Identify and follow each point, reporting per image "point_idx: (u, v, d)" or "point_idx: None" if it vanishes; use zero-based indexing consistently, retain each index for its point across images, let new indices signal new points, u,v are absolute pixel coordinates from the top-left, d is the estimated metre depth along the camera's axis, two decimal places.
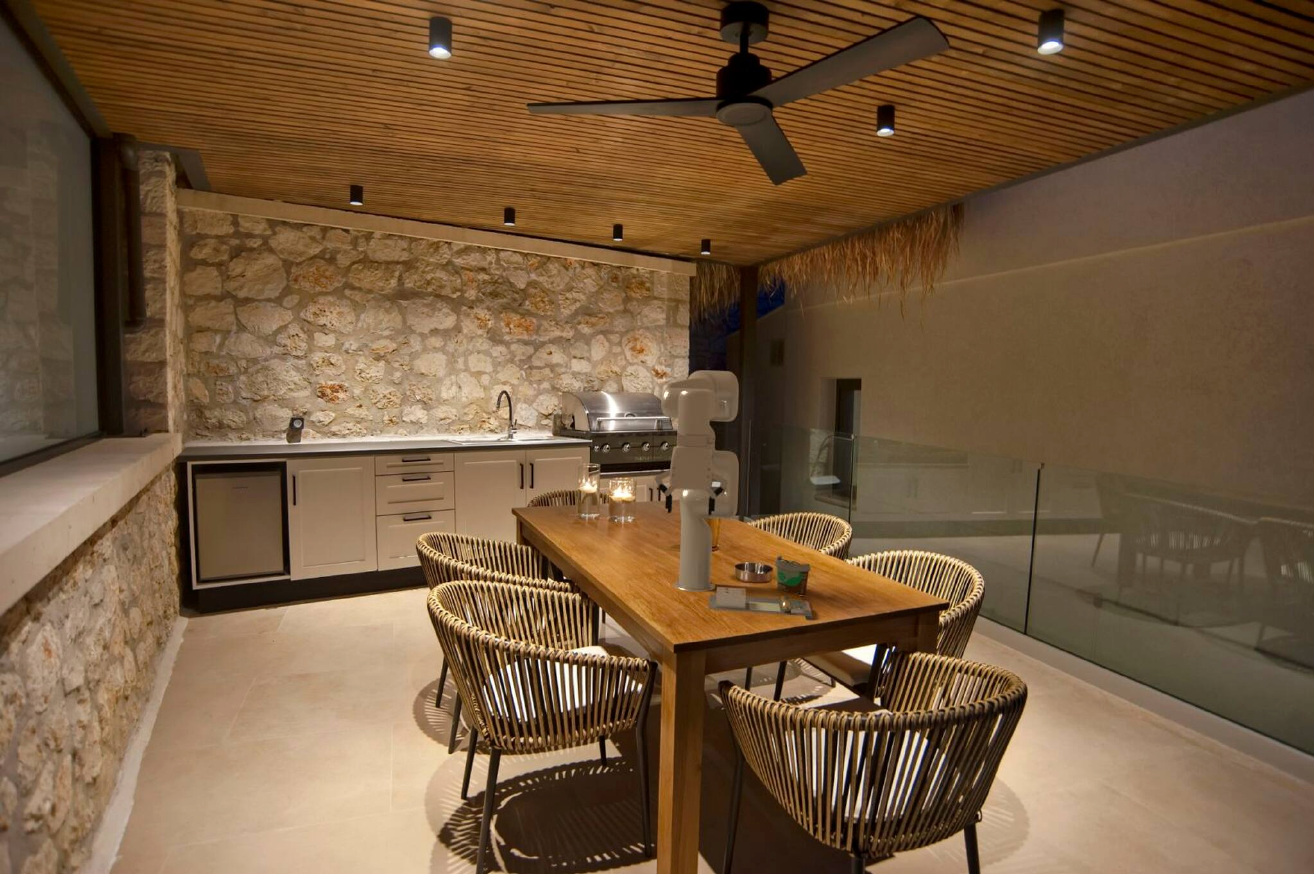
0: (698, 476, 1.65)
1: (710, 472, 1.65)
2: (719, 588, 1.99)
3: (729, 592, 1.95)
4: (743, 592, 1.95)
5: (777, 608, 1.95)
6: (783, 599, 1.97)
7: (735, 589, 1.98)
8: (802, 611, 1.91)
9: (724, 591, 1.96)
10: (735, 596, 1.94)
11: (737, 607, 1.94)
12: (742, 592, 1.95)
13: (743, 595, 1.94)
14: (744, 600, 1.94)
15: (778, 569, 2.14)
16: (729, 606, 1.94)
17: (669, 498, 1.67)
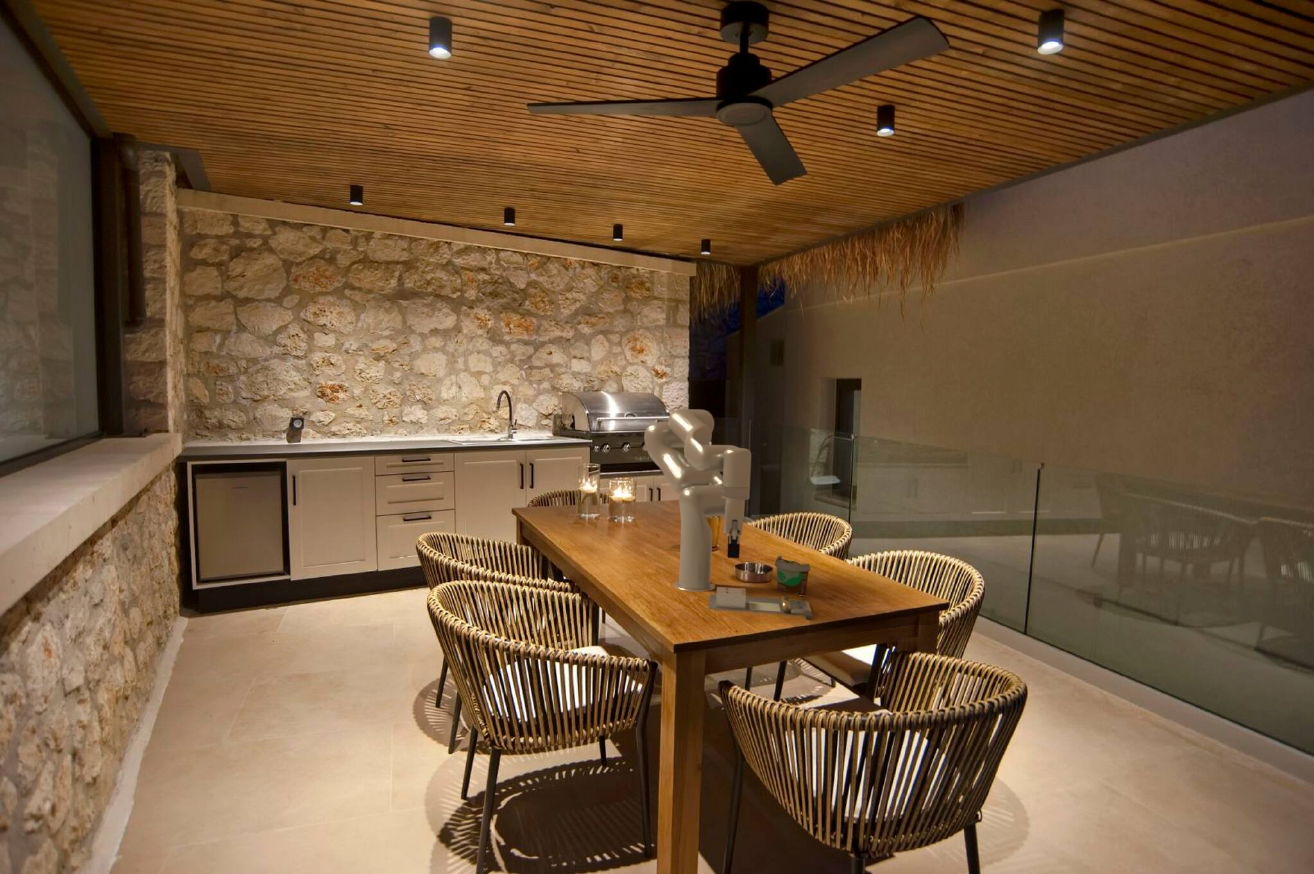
0: None
1: None
2: (719, 588, 1.99)
3: (729, 592, 1.95)
4: (743, 592, 1.95)
5: (777, 608, 1.95)
6: (783, 599, 1.97)
7: (735, 589, 1.98)
8: (802, 611, 1.91)
9: (724, 591, 1.96)
10: (735, 596, 1.94)
11: (737, 607, 1.94)
12: (742, 592, 1.95)
13: (743, 595, 1.94)
14: (744, 600, 1.94)
15: (778, 569, 2.14)
16: (729, 606, 1.94)
17: None
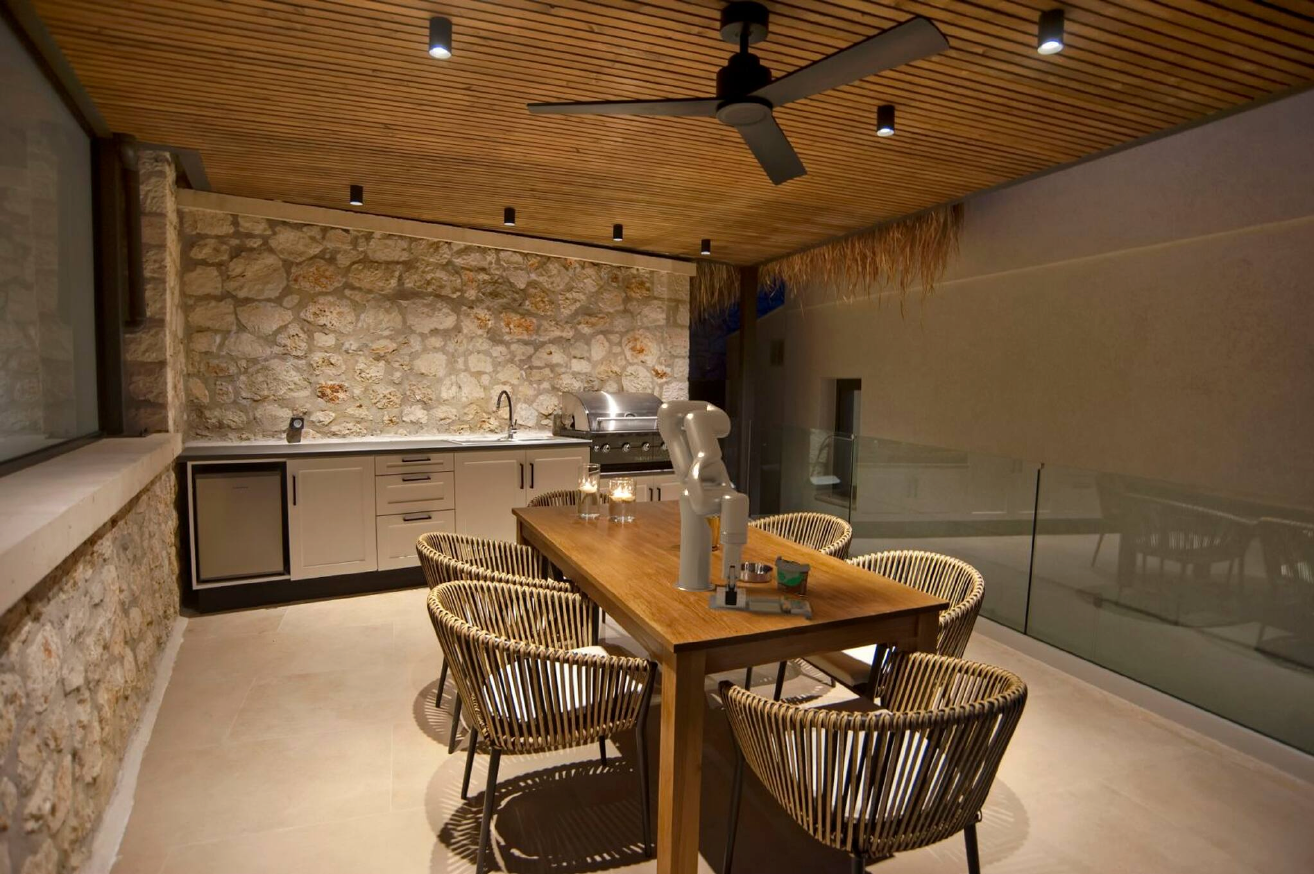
0: None
1: None
2: (719, 588, 1.99)
3: None
4: (743, 592, 1.95)
5: (777, 608, 1.95)
6: (783, 599, 1.97)
7: None
8: (802, 611, 1.91)
9: (724, 591, 1.96)
10: None
11: (737, 607, 1.94)
12: (742, 592, 1.95)
13: (743, 595, 1.94)
14: (744, 600, 1.94)
15: (778, 569, 2.14)
16: (729, 606, 1.94)
17: None
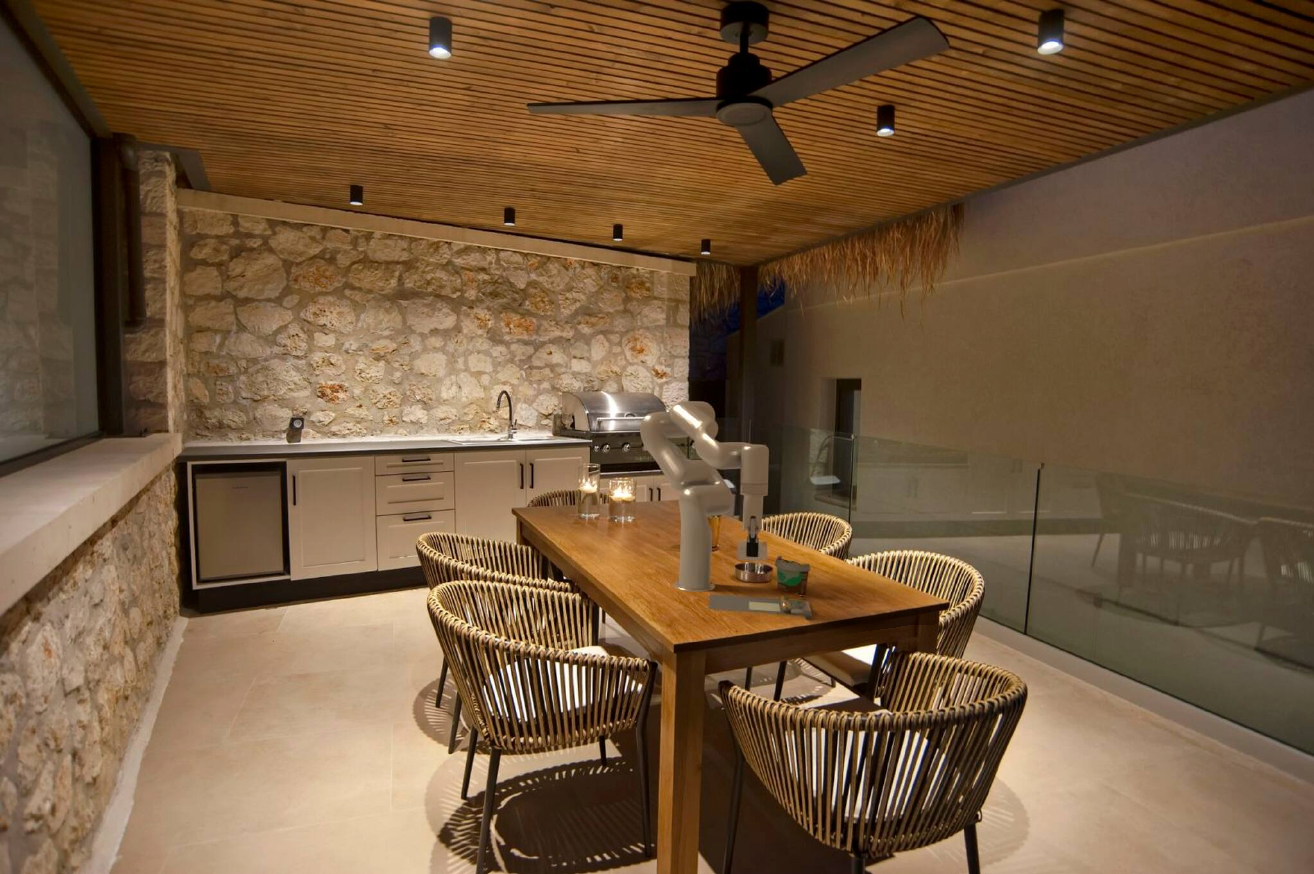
0: None
1: None
2: (740, 541, 1.97)
3: None
4: (764, 544, 1.93)
5: (777, 608, 1.95)
6: (783, 599, 1.97)
7: None
8: (802, 611, 1.91)
9: (745, 543, 1.94)
10: None
11: (759, 559, 1.92)
12: (763, 544, 1.93)
13: (764, 546, 1.91)
14: (766, 552, 1.91)
15: (778, 569, 2.14)
16: (750, 558, 1.92)
17: None
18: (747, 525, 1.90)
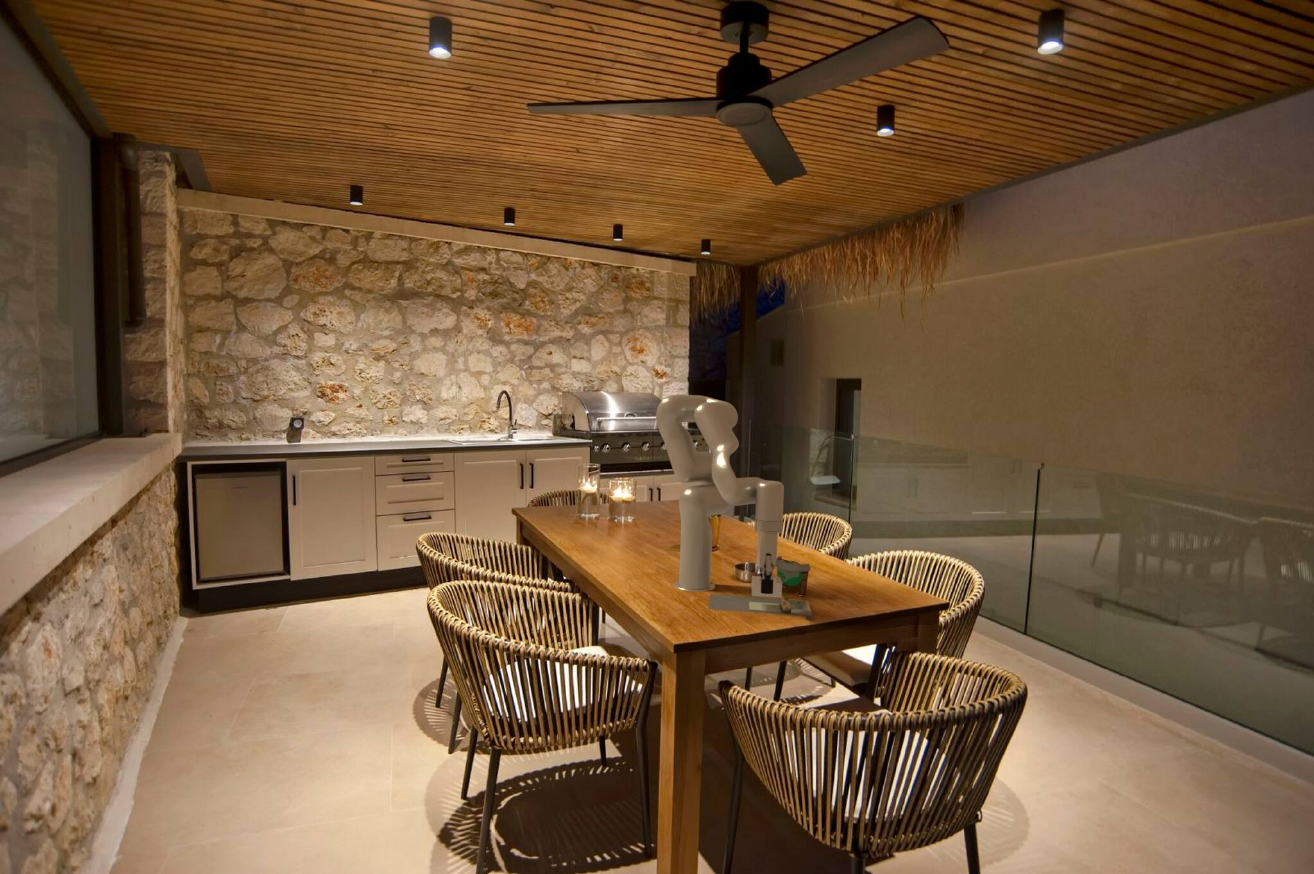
0: None
1: None
2: (754, 577, 1.97)
3: None
4: (779, 580, 1.94)
5: (777, 608, 1.95)
6: (783, 599, 1.97)
7: None
8: (802, 611, 1.91)
9: (760, 580, 1.95)
10: None
11: (773, 595, 1.93)
12: (778, 580, 1.94)
13: (779, 583, 1.92)
14: (780, 588, 1.92)
15: (778, 569, 2.14)
16: (765, 595, 1.93)
17: None
18: (762, 562, 1.90)
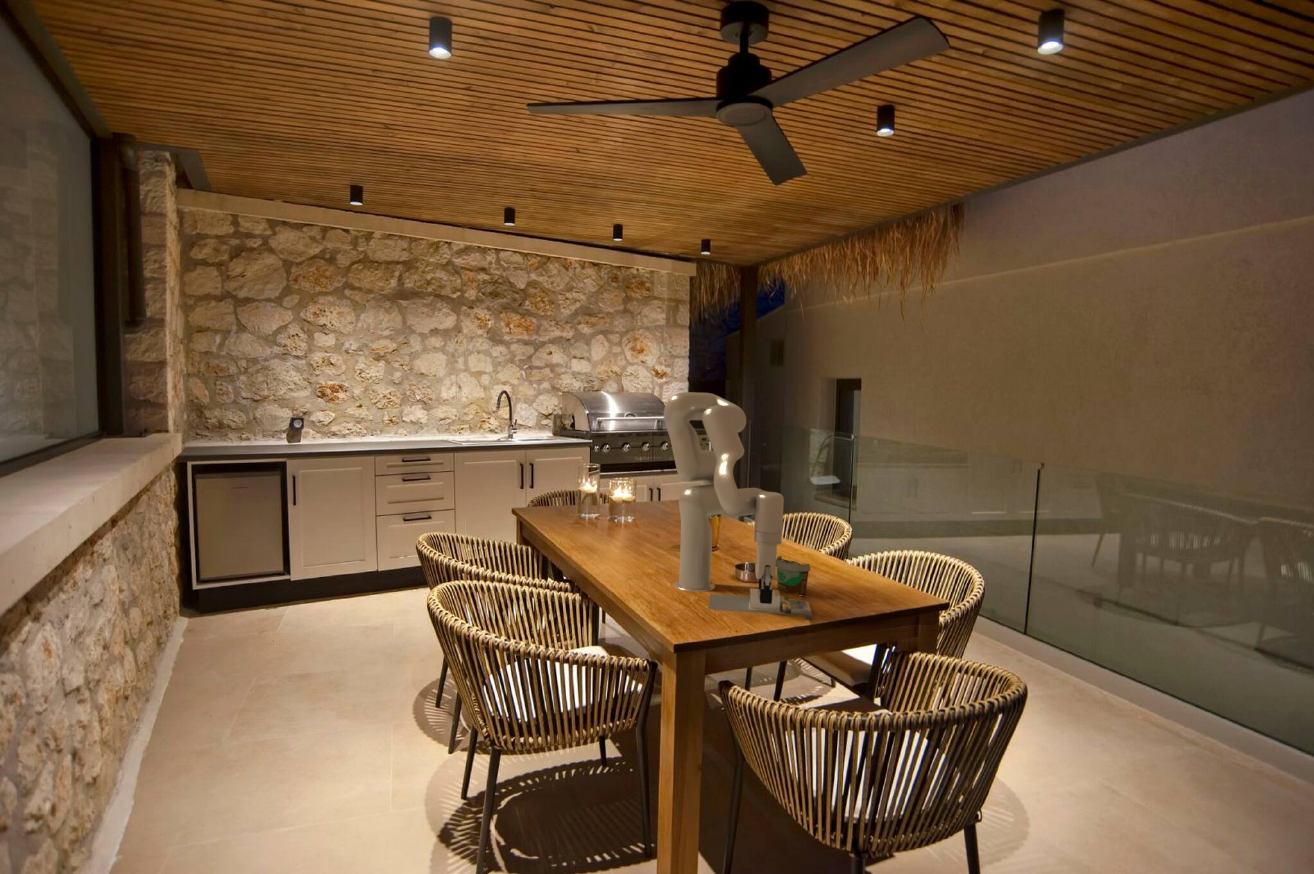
0: None
1: None
2: (752, 589, 1.98)
3: None
4: (777, 593, 1.94)
5: None
6: (783, 599, 1.97)
7: None
8: (802, 611, 1.91)
9: (758, 592, 1.95)
10: None
11: (771, 609, 1.93)
12: (776, 593, 1.94)
13: (777, 597, 1.93)
14: (778, 602, 1.93)
15: (778, 569, 2.14)
16: (763, 608, 1.93)
17: None
18: (761, 574, 1.91)
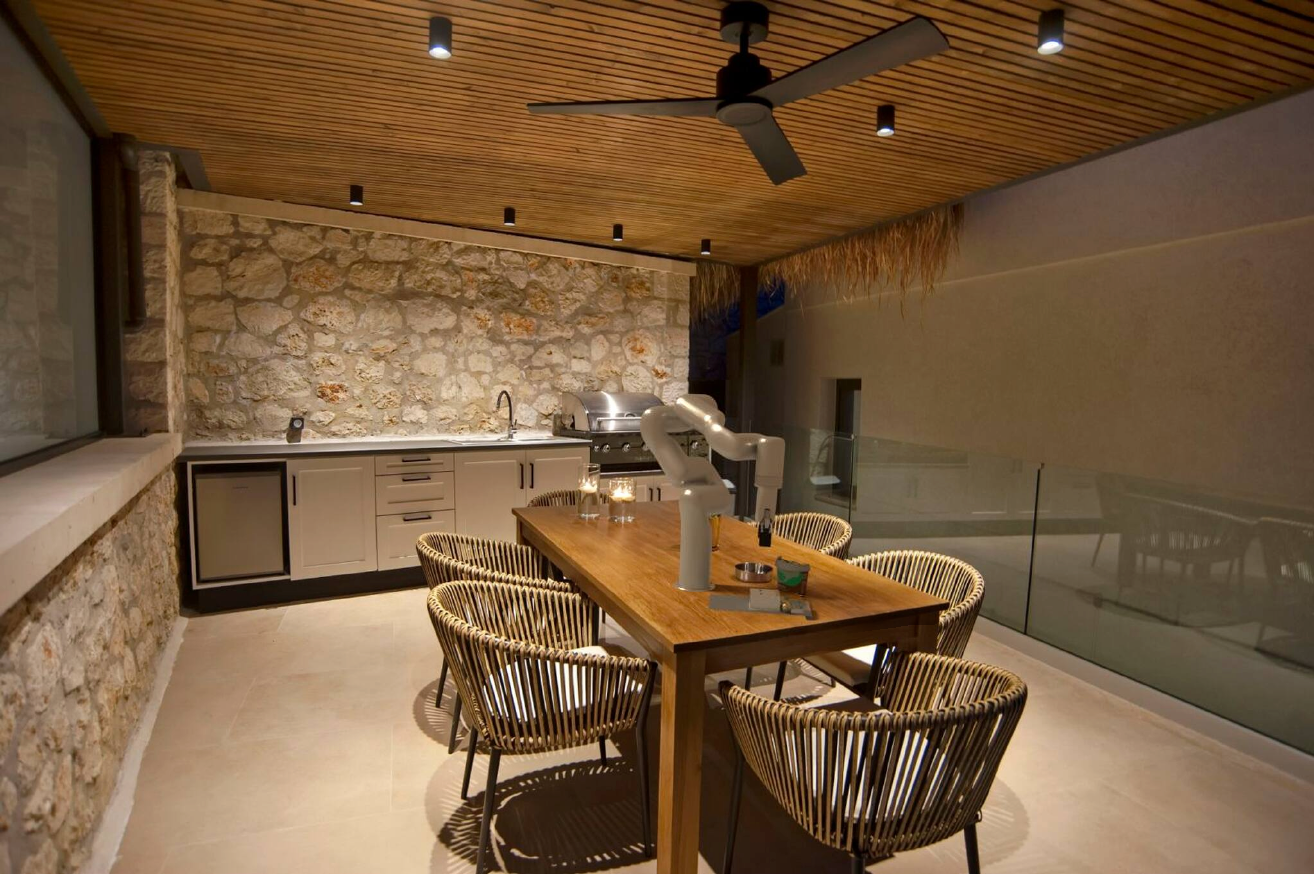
0: None
1: None
2: (752, 589, 1.98)
3: (763, 594, 1.94)
4: (777, 593, 1.94)
5: None
6: (783, 599, 1.97)
7: (768, 590, 1.98)
8: (802, 611, 1.91)
9: (758, 592, 1.95)
10: (769, 597, 1.93)
11: (771, 609, 1.93)
12: (776, 593, 1.94)
13: (777, 597, 1.93)
14: (778, 602, 1.93)
15: (778, 569, 2.14)
16: (763, 608, 1.93)
17: None
18: (761, 517, 1.90)
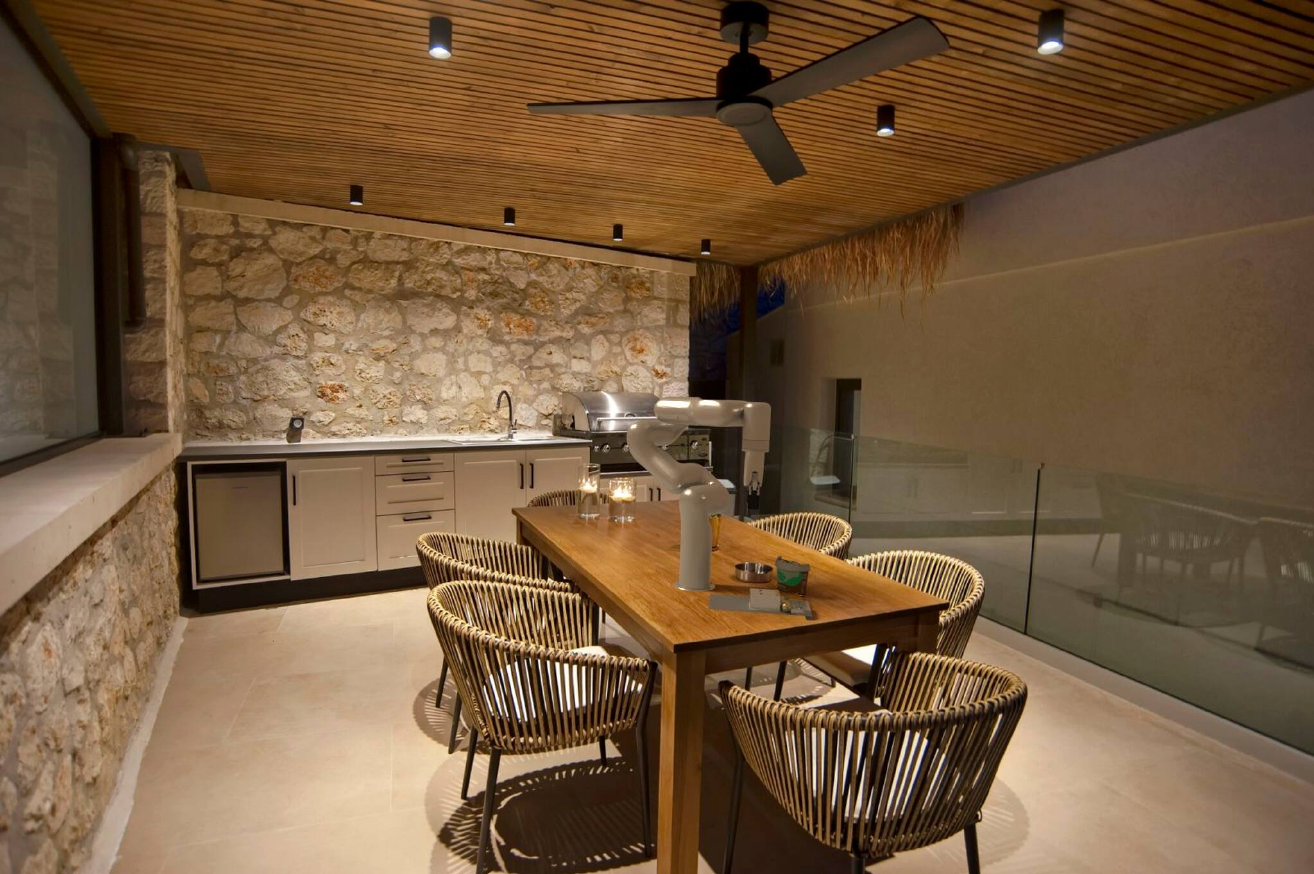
0: None
1: None
2: (752, 589, 1.98)
3: (763, 594, 1.94)
4: (777, 593, 1.94)
5: None
6: (783, 599, 1.97)
7: (768, 590, 1.98)
8: (802, 611, 1.91)
9: (758, 592, 1.95)
10: (769, 597, 1.93)
11: (771, 609, 1.93)
12: (776, 593, 1.94)
13: (777, 597, 1.93)
14: (778, 602, 1.93)
15: (778, 569, 2.14)
16: (763, 608, 1.93)
17: None
18: (749, 480, 1.94)
